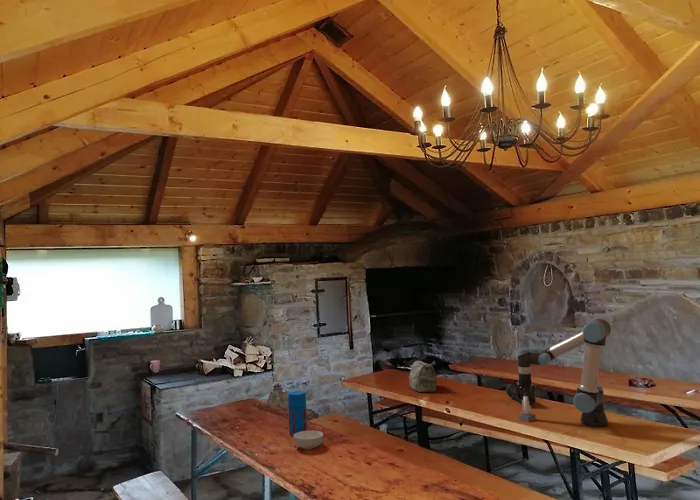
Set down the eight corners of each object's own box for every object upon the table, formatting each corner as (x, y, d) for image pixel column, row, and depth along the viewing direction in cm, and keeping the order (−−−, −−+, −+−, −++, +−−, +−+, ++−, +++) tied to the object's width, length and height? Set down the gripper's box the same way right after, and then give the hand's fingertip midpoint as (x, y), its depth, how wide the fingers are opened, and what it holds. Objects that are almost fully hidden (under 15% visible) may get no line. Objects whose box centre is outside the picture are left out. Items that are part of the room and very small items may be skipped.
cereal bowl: (329, 446, 290) (329, 433, 290) (306, 454, 278) (306, 441, 279) (310, 440, 302) (310, 427, 303) (287, 447, 291) (287, 435, 291)
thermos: (304, 430, 322) (302, 389, 323) (309, 434, 312) (307, 393, 313) (287, 432, 318) (286, 392, 319) (291, 437, 308) (290, 395, 309)
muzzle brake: (523, 408, 351) (522, 392, 352) (505, 398, 379) (504, 384, 379) (536, 407, 353) (535, 391, 353) (517, 397, 380) (516, 383, 381)
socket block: (535, 419, 325) (535, 414, 325) (528, 421, 321) (527, 416, 321) (526, 416, 331) (525, 412, 331) (518, 419, 327) (518, 414, 327)
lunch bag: (439, 391, 405) (438, 364, 406) (417, 393, 402) (416, 365, 403) (428, 384, 431) (427, 358, 432) (408, 386, 427) (406, 360, 428)
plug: (531, 416, 326) (529, 396, 326) (528, 418, 323) (527, 397, 324) (525, 415, 328) (524, 395, 329) (523, 417, 326) (522, 396, 326)
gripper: (510, 372, 330) (512, 409, 329) (534, 375, 318) (536, 413, 317) (515, 370, 335) (517, 406, 334) (539, 373, 324) (541, 410, 323)
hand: (526, 410), depth 326 cm, fingers closed on plug, 3 cm apart
